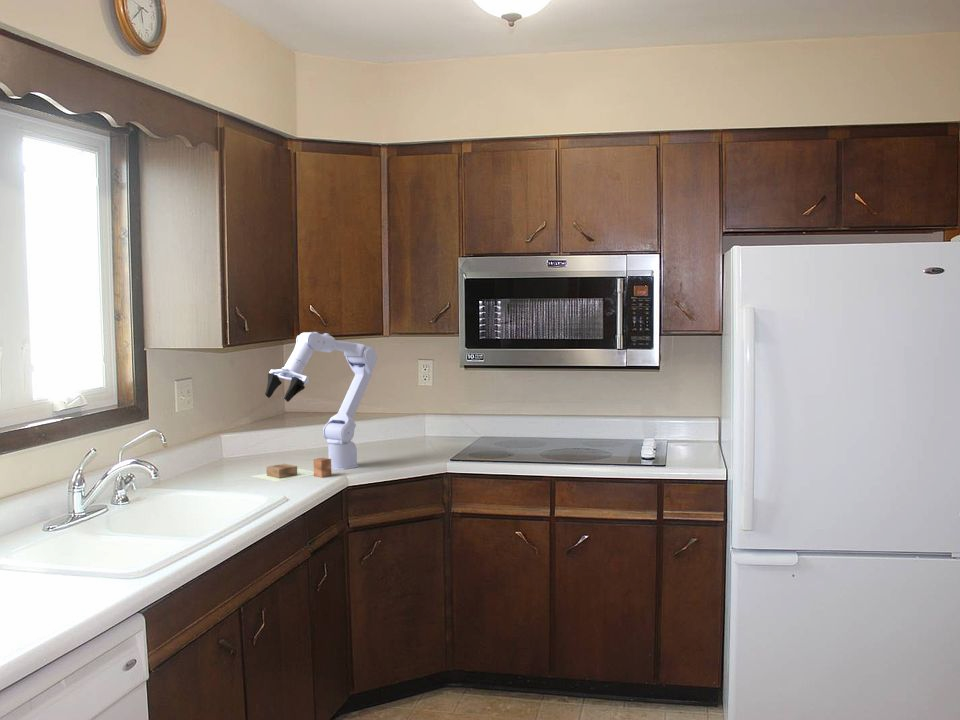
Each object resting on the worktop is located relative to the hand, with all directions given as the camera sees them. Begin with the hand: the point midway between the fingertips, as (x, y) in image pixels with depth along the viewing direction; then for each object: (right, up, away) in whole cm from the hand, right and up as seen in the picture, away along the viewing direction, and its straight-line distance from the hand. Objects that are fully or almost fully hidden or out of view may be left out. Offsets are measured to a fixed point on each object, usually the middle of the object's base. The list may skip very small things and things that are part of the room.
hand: (276, 398), depth 262 cm
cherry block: (+13, -26, +7) cm, 30 cm away
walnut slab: (0, -26, +8) cm, 27 cm away
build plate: (+1, -26, +10) cm, 28 cm away
